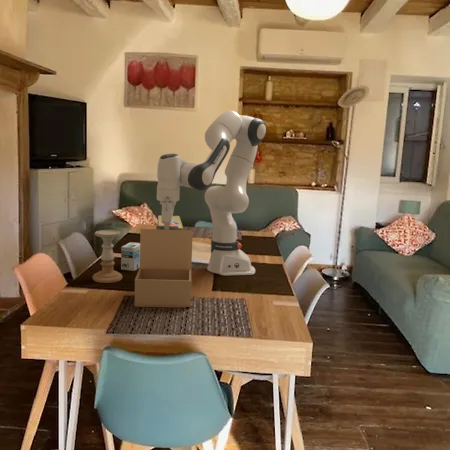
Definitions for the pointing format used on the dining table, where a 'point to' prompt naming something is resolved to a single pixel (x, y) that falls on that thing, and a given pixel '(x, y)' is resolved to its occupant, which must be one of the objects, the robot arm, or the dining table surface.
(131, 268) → the light bulb box
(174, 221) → the soda box
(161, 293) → the carton
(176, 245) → the cardboard box lid
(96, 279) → the candle holder
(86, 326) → the dining table surface
